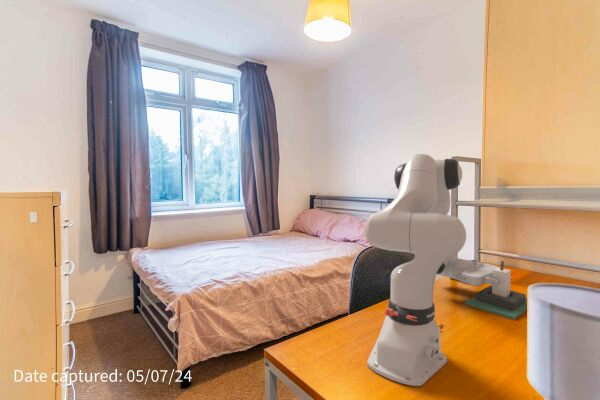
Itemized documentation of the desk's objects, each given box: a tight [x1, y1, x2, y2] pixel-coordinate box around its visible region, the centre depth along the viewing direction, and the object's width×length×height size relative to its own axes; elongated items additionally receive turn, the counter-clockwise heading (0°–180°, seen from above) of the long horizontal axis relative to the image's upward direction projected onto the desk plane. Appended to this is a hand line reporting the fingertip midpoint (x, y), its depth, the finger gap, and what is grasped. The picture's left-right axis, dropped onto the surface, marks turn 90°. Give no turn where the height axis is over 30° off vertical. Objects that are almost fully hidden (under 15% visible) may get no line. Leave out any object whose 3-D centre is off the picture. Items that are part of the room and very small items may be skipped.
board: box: [464, 284, 528, 321], centre depth 115 cm, size 22×16×4 cm
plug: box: [491, 260, 512, 298], centre depth 114 cm, size 4×4×16 cm
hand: (504, 279), depth 114 cm, fingers open, 8 cm apart
